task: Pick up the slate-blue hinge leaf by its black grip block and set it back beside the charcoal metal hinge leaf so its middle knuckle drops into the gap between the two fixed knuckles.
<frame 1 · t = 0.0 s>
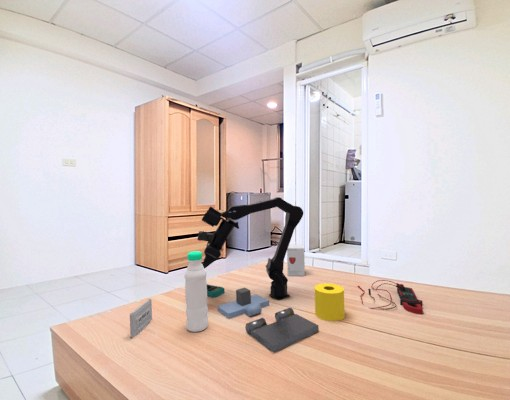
hand: (203, 265, 108), 15 cm above the table, tool tilted 35°, fingers open, 9 cm apart
swing leaf: (253, 314, 96), on the table
digital clamp meter: (387, 300, 106), on the table
water bottle: (197, 327, 88), on the table
digital multimeter: (207, 293, 119), on the table
fixed leaf: (271, 324, 87), on the table
cassette: (142, 329, 88), on the table
yellow hollow cylinder: (329, 315, 94), on the table
supplement box: (296, 274, 142), on the table
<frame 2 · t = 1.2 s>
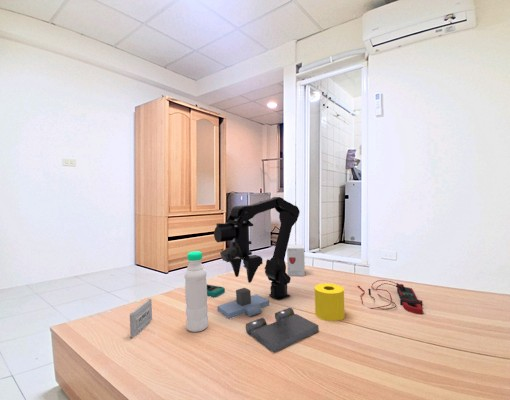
hand: (243, 279, 101), 11 cm above the table, tool pointing down, fingers open, 9 cm apart
nothing on the table moved.
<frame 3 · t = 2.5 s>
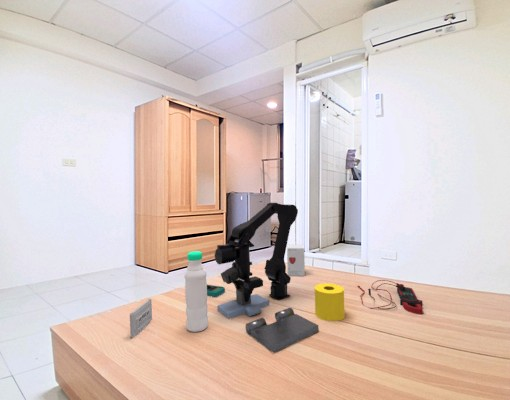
hand: (243, 300, 101), 3 cm above the table, tool pointing down, fingers closed on swing leaf, 4 cm apart
swing leaf: (253, 314, 96), on the table, touching gripper
everything else where it was.
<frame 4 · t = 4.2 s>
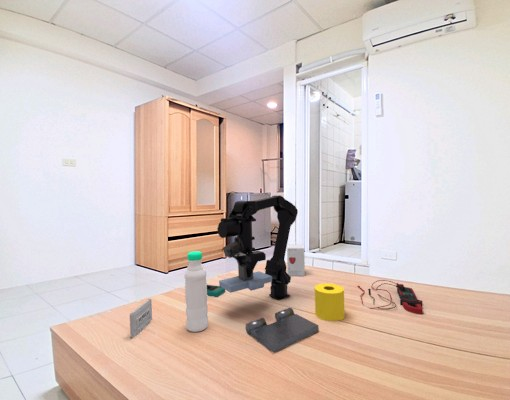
hand: (245, 275, 99), 13 cm above the table, tool pointing down, fingers closed on swing leaf, 4 cm apart
swing leaf: (256, 288, 93), point 10 cm above the table, touching gripper
everything else where it was.
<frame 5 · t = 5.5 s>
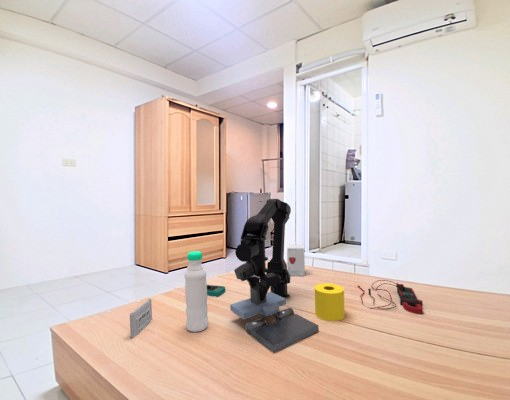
hand: (258, 298, 93), 7 cm above the table, tool pointing down, fingers closed on swing leaf, 4 cm apart
swing leaf: (270, 314, 87), point 4 cm above the table, touching gripper
everything else where it was.
when the fingers open (4 cm above the table, at t = 6.2 s): swing leaf drops 1 cm, on the table.
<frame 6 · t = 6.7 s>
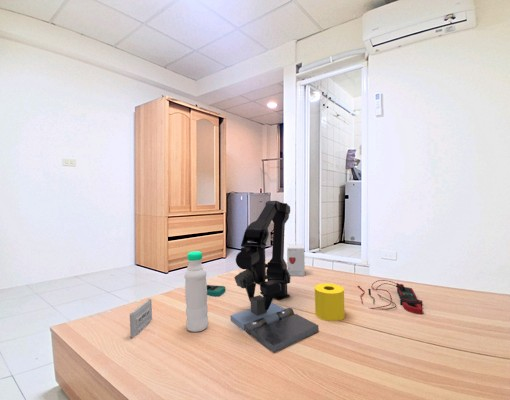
hand: (258, 305, 93), 4 cm above the table, tool pointing down, fingers open, 9 cm apart
swing leaf: (270, 325, 88), on the table
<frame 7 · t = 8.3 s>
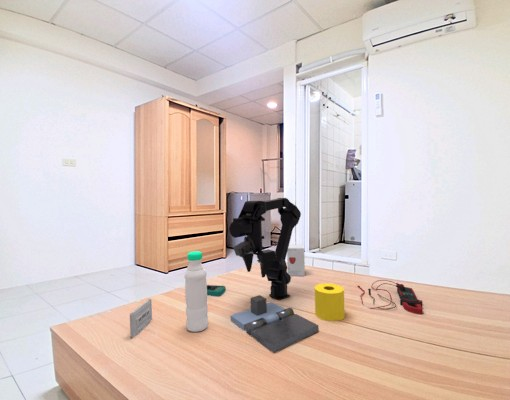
hand: (255, 274, 101), 13 cm above the table, tool pointing down, fingers open, 9 cm apart
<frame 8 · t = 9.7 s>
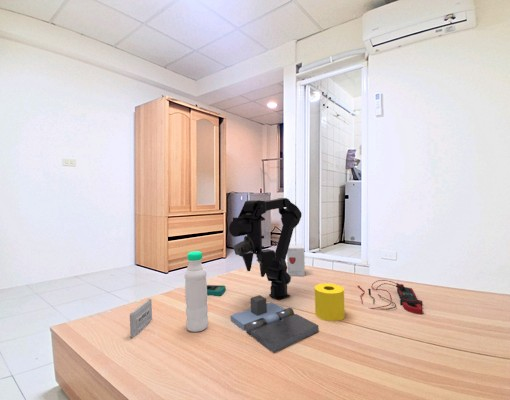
hand: (255, 273, 101), 13 cm above the table, tool pointing down, fingers open, 9 cm apart
at the end: swing leaf 0.0 cm off-centre on the fixed leaf, point 0.0 cm above the fixed leaf's base; swing leaf tilted 1°; the gripper is holding nothing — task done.
